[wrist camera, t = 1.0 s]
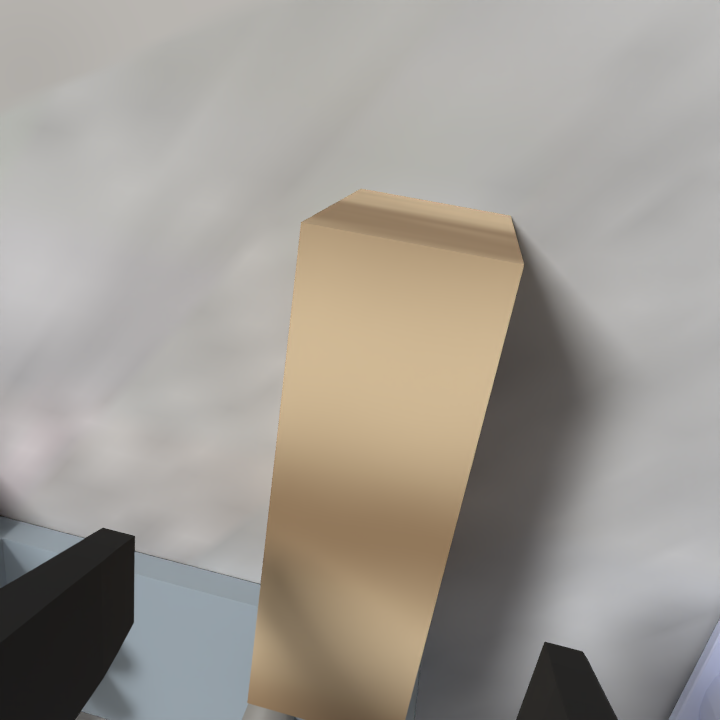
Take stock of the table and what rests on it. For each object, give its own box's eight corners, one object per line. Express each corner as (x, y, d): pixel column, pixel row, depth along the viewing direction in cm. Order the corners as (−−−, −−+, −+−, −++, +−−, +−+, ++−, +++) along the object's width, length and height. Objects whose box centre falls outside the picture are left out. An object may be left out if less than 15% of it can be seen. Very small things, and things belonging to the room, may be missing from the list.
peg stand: (424, 627, 21) (408, 766, 17) (386, 775, 24) (364, 927, 20) (-15, 512, 23) (-137, 608, 19) (1, 663, 26) (-100, 777, 22)
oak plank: (361, 188, 16) (301, 222, 11) (510, 214, 16) (523, 264, 11) (308, 553, 21) (246, 702, 16) (420, 581, 21) (398, 746, 15)
